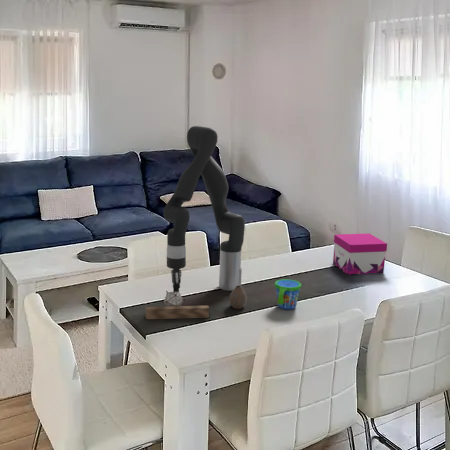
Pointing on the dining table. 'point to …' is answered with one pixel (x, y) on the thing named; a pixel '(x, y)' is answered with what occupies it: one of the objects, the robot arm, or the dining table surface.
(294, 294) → the snack cup
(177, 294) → the game die
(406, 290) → the dining table surface
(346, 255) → the decorative box
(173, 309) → the board
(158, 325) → the dining table surface
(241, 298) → the vase
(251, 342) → the dining table surface
